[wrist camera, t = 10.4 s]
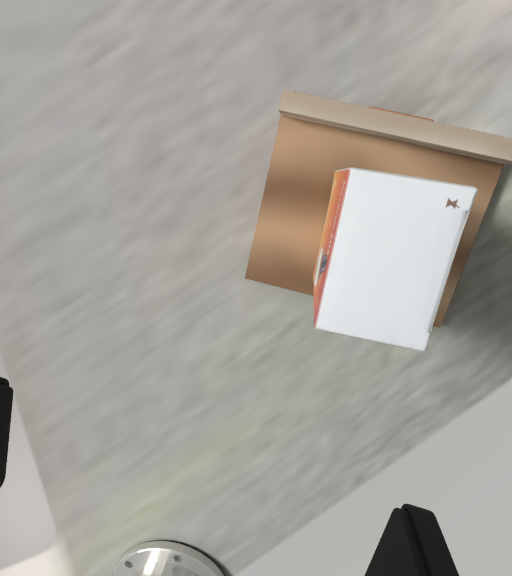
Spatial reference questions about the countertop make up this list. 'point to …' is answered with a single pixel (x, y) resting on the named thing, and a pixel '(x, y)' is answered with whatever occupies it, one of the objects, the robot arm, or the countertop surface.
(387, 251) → the small box
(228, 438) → the countertop surface
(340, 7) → the countertop surface
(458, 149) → the shelf board
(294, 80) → the countertop surface
